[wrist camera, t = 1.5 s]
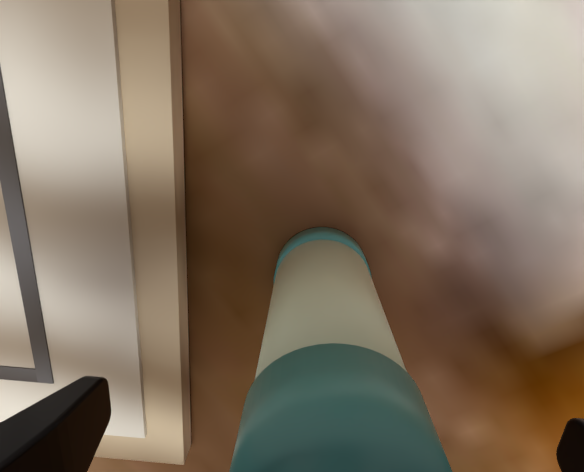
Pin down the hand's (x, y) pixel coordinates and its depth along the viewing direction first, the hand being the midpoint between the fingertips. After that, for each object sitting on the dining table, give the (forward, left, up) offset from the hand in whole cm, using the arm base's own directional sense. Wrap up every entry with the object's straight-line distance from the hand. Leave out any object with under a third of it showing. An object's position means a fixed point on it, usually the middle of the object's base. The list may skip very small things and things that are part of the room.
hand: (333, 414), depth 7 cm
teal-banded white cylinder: (0, 0, -7) cm, 7 cm away
